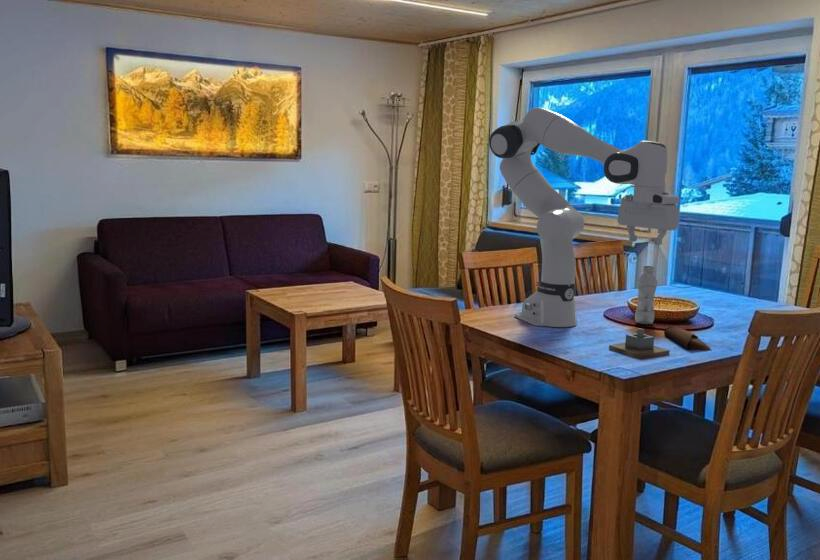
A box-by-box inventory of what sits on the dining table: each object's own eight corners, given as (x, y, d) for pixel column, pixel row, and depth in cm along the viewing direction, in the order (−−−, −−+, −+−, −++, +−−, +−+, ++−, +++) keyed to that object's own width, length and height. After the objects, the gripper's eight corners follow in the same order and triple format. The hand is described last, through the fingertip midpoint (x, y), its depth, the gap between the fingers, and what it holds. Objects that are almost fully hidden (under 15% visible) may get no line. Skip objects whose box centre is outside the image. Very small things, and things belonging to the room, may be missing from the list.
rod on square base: (608, 349, 213) (610, 326, 211) (636, 344, 219) (638, 322, 218) (640, 359, 202) (642, 335, 201) (669, 354, 209) (671, 331, 208)
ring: (625, 346, 211) (626, 334, 211) (638, 344, 214) (639, 332, 214) (639, 351, 207) (640, 338, 206) (653, 348, 210) (654, 336, 209)
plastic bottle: (632, 324, 246) (637, 267, 243) (636, 321, 252) (640, 264, 249) (651, 327, 243) (657, 268, 240) (655, 323, 249) (660, 266, 246)
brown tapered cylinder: (714, 350, 214) (705, 331, 213) (693, 362, 214) (684, 343, 213) (688, 336, 232) (680, 318, 231) (669, 346, 232) (660, 329, 231)
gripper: (614, 194, 220) (611, 239, 222) (669, 198, 203) (665, 247, 205) (629, 194, 223) (625, 238, 225) (684, 198, 206) (680, 246, 208)
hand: (645, 242), depth 215 cm, fingers open, 8 cm apart
